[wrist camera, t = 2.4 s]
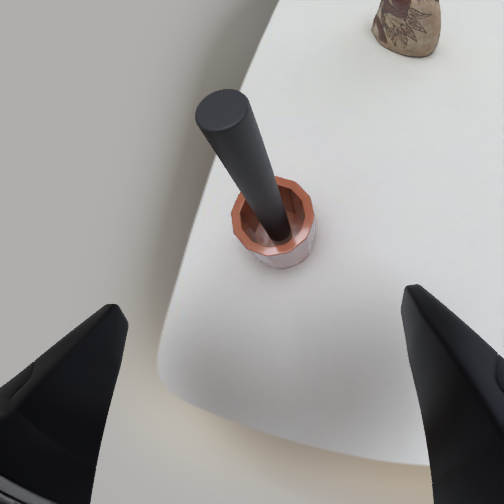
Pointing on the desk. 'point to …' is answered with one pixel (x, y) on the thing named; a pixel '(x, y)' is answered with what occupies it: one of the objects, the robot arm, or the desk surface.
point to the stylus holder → (257, 237)
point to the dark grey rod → (244, 157)
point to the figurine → (408, 26)
